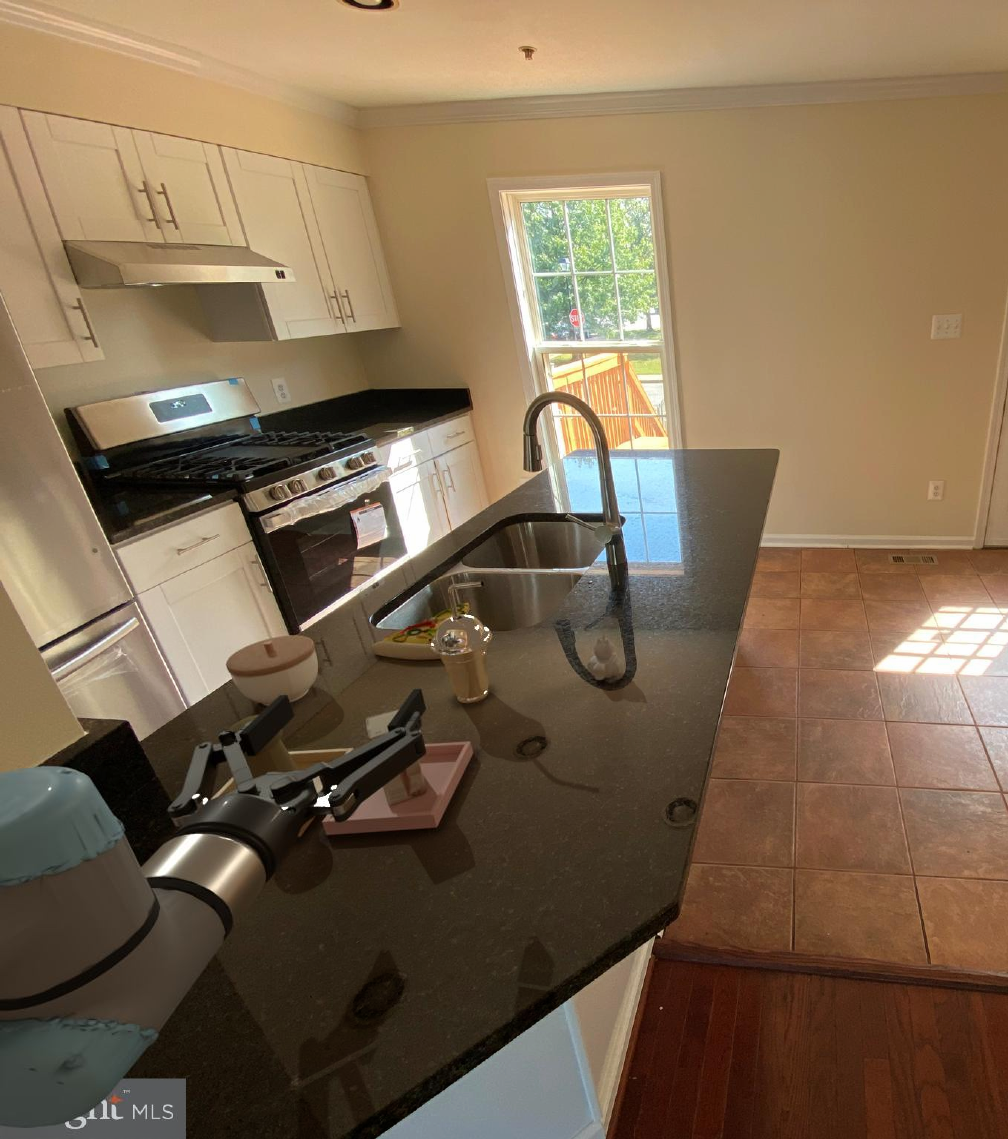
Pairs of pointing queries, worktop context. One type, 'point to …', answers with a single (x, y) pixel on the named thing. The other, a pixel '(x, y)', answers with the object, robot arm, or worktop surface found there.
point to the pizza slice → (415, 638)
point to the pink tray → (417, 812)
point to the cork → (267, 754)
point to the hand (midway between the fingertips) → (354, 701)
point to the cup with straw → (464, 650)
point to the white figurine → (604, 660)
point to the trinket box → (275, 668)
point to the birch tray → (302, 762)
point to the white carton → (409, 779)
